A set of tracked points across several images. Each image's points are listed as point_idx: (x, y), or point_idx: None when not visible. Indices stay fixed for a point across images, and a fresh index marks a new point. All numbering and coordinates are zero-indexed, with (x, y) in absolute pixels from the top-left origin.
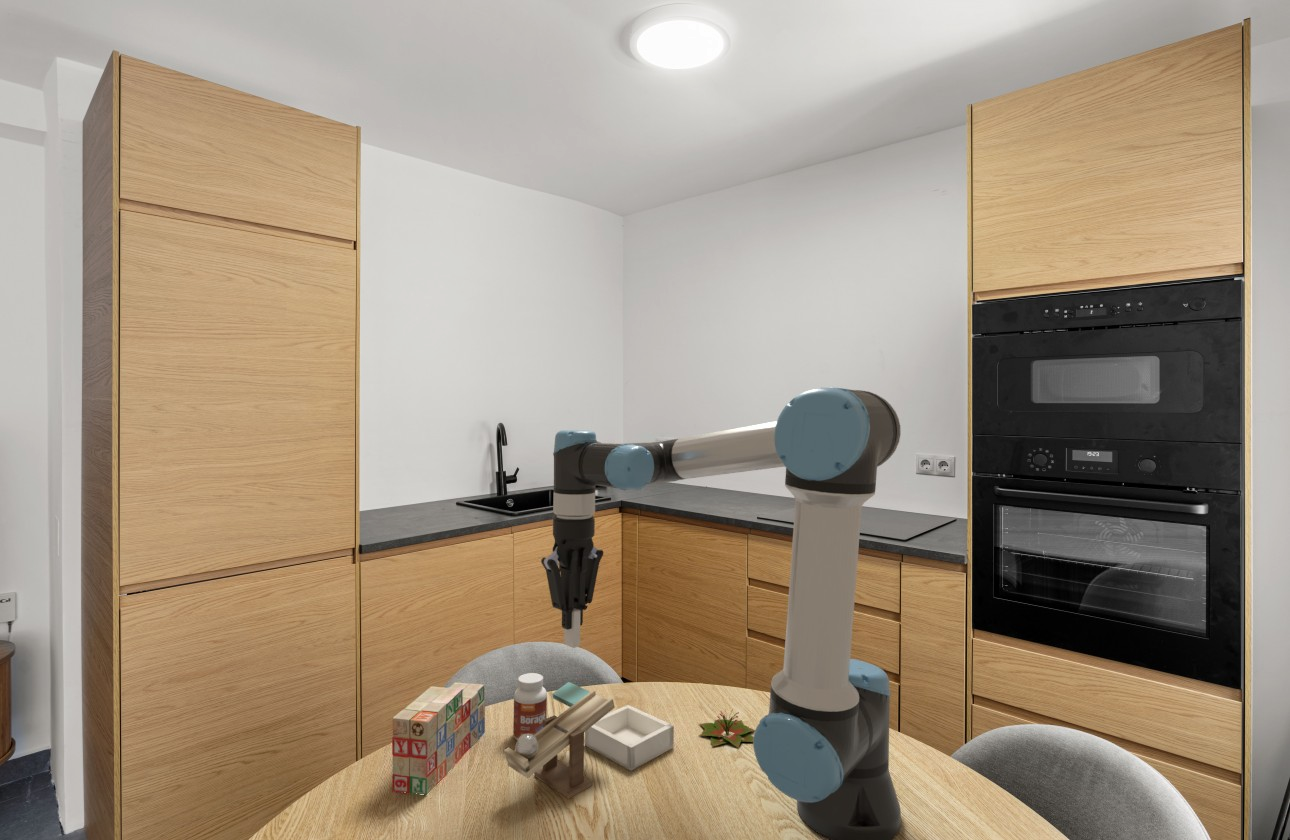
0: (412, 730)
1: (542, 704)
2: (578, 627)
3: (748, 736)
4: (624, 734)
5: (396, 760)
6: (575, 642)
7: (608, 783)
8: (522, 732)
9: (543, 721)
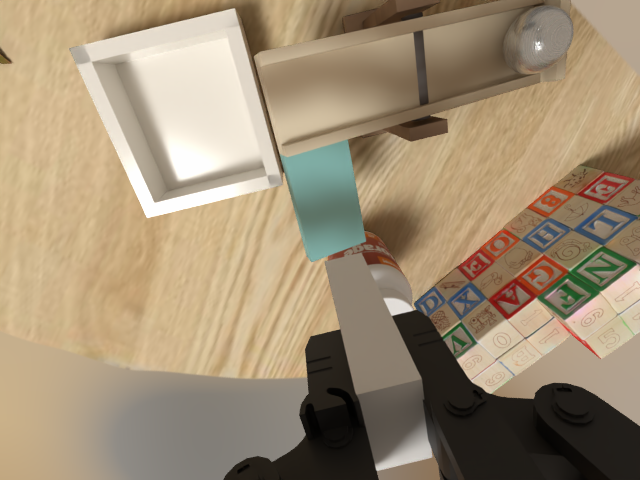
0: None
1: None
2: (350, 309)
3: None
4: (190, 161)
5: None
6: (355, 265)
7: (308, 3)
8: (386, 247)
9: (446, 129)
